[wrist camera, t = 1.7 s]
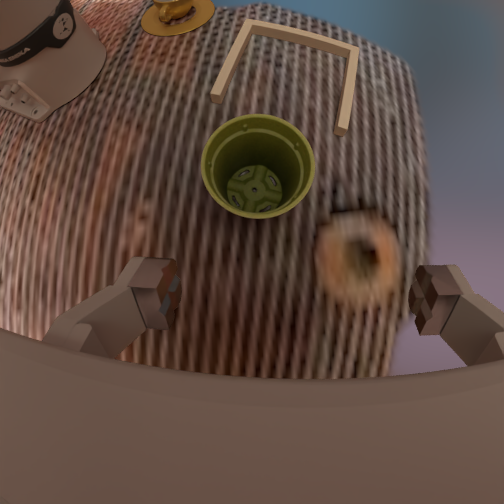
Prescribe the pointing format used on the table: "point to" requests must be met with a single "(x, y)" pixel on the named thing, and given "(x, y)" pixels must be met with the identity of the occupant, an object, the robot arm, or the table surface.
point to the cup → (175, 16)
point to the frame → (299, 38)
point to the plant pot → (257, 165)
